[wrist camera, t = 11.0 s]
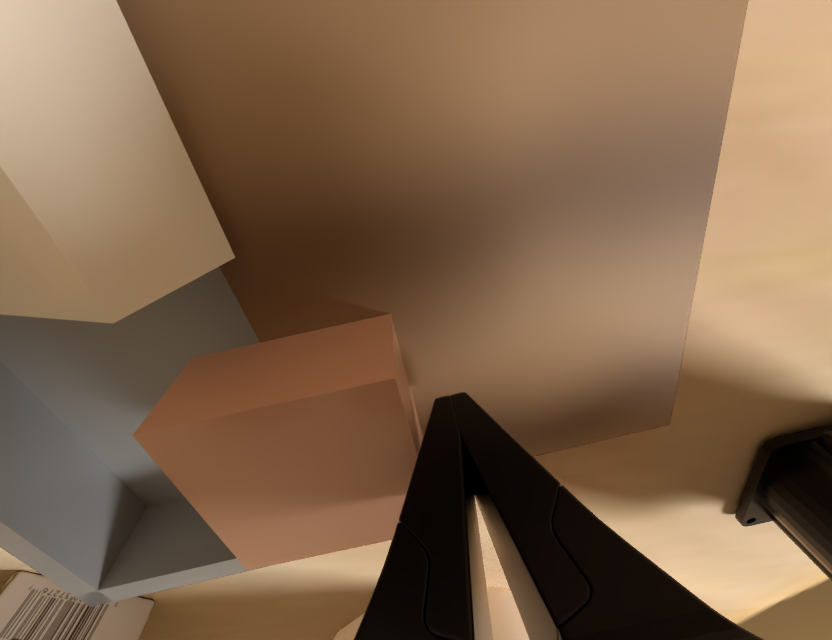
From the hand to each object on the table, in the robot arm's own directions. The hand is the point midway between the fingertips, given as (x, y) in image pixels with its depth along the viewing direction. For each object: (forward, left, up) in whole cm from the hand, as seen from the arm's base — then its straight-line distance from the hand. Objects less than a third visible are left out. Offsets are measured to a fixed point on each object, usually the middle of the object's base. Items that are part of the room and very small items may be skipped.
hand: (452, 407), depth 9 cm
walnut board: (+3, -1, -4) cm, 5 cm away
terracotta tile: (0, +4, -1) cm, 4 cm away
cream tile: (+7, +6, -2) cm, 10 cm away
